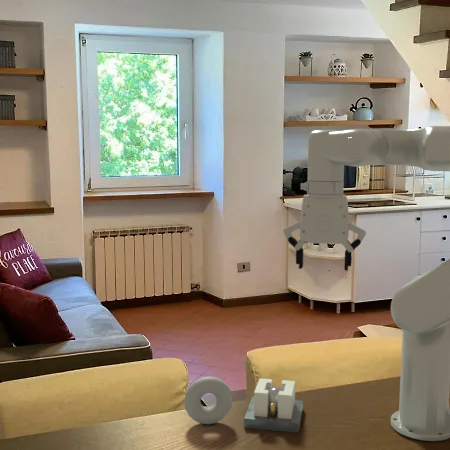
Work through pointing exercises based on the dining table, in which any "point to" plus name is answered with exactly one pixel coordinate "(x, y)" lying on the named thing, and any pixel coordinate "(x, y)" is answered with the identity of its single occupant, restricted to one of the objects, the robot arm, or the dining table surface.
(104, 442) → the dining table surface
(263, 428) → the post base
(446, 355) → the robot arm
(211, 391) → the donut
